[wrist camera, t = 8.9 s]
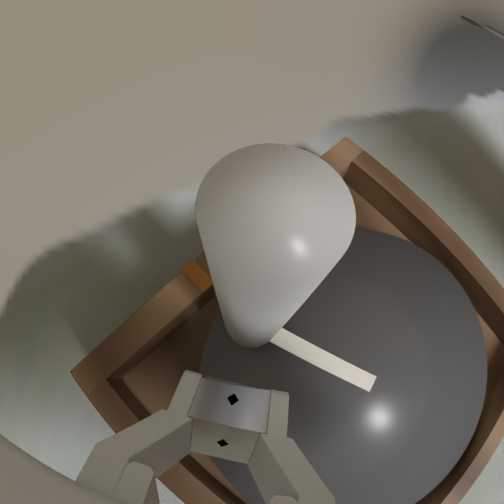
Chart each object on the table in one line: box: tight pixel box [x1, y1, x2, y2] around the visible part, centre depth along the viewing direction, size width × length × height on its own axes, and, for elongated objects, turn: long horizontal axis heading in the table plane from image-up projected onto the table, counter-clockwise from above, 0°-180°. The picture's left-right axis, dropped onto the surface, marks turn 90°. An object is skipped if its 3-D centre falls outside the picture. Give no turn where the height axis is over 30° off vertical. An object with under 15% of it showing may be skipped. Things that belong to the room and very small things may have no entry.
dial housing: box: [70, 137, 504, 504], centre depth 14 cm, size 20×20×4 cm
